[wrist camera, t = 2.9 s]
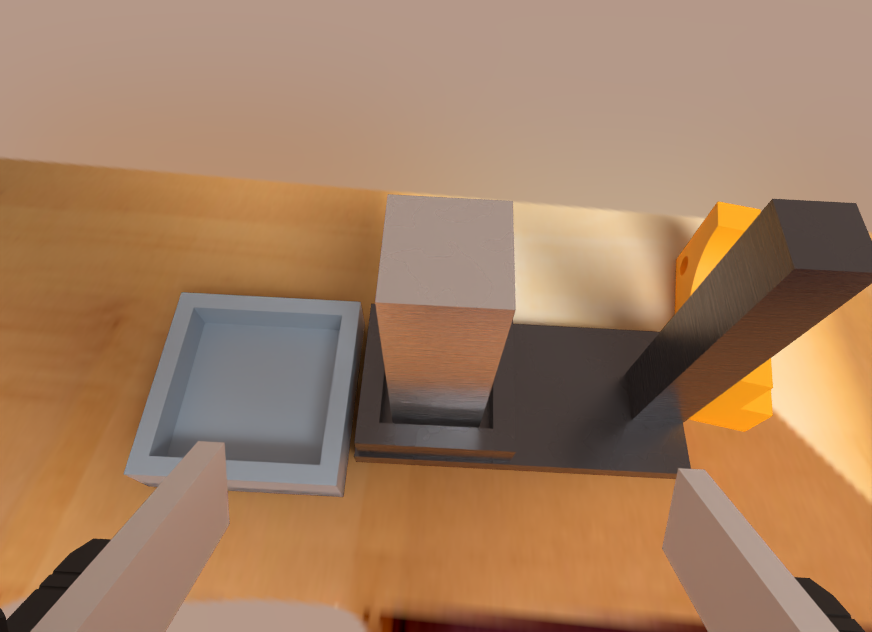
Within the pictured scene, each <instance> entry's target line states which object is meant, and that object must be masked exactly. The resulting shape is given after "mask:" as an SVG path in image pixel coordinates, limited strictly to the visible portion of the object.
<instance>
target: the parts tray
mask: <svg viewBox="0 0 872 632" xmlns="http://www.w3.org/2000/svg"><path fill="white" fill-rule="evenodd" d="M364 328H365V322H364V317H363V312H362V307H361V302H354V301H335V300H316V299H298V298H279V297H260V296H242V295H223V294H204V293H186V292H181V296H180V299H179V302H178V305H177V308H176V311H175V314H174V317H173V321H172V324H171V327H170V330H169V333H168V336H167V339H166V343H165V346H164V349H163V352H162V355H161V358H160V361H159V365H158V368H157V371H156V374H155V377H154V380H153V383H152V386H151V390H150V393H149V396H148V399H147V402H146V405H145V408H144V412H143V415H142V418H141V421H140V424H139V427H138V430H137V434H136V437H135V440H134V443H133V446H132V449H131V452H130V455H129V459H128V462H127V465H126V468H125V471H124V475H126V476H128V477H130V478H133V479H135V480H137V481H139V482H141V483H143V484H145V485H147V486H153V487H158V486H159V485H160V484H161V483H162V482H163V480H164V479H165V478H166V477H167V476H168V475H169V474H170V473H171V471H172V470H173V469H174V468H175V467H176V466H177V465H178V463H179V462H180V461H181V460H182V459H183V458H184V457H185V456H186V454H187V453H188V452H189V451H190V450H191V449H192V448H193V446H194V445H195V444H196V443H197V442H198V441H206V442H224V443H225V457H226V474H227V490H228V491H245V492H263V493H282V494H300V495H319V496H337V497H343V496H344V488H345V480H346V472H347V464H348V456H349V448H350V440H351V432H352V424H353V416H354V408H355V400H356V392H357V384H358V376H359V368H360V360H361V352H362V344H363V336H364Z"/></svg>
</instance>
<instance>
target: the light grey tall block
mask: <svg viewBox="0 0 872 632" xmlns="http://www.w3.org/2000/svg"><path fill="white" fill-rule="evenodd" d="M375 305H376V312H377V319H378V326H379V333H380V339H381V346H382V353H383V360H384V367H385V374H386V381H387V388H388V394H389V401H390V408H391V415H392V422H393V423H395V424H414V425H433V426H451V427H470V428H479V426H480V423H481V420H482V417H483V414H484V410H485V407H486V404H487V401H488V397H489V394H490V391H491V388H492V384H493V381H494V378H495V375H496V371H497V368H498V365H499V362H500V359H501V355H502V352H503V349H504V346H505V342H506V339H507V336H508V333H509V329H510V326H511V323H512V320H513V316H514V313H515V310H516V309H515V270H514V231H513V201H502V200H483V199H464V198H445V197H426V196H408V195H389V194H388V197H387V205H386V214H385V222H384V231H383V239H382V248H381V256H380V265H379V273H378V282H377V290H376V299H375Z"/></svg>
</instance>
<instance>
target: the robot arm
mask: <svg viewBox="0 0 872 632" xmlns="http://www.w3.org/2000/svg"><path fill="white" fill-rule="evenodd" d="M229 524H230V523H229V506H228V490H227V474H226V457H225V443H224V442H206V441H198V442H197V443H196V444H195V445H194V446H193V448H192V449H191V450H190V451H189V452H188V453H187V454H186V456H185V457H184V458H183V459H182V460H181V461H180V462H179V463H178V465H177V466H176V467H175V468H174V469H173V470H172V471H171V473H170V474H169V475H168V476H167V477H166V478H165V479H164V480H163V482H162V483H161V484H160V485H159V486H158V487H157V488H156V490H155V491H154V492H153V493H152V494H151V495H150V496H149V498H148V499H147V500H146V501H145V502H144V503H143V504H142V505H141V507H140V508H139V509H138V510H137V511H136V512H135V513H134V515H133V516H132V517H131V518H130V519H129V520H128V521H127V522H126V524H125V525H124V526H123V527H122V528H121V529H120V530H119V532H118V533H117V534H116V535H115V536H114V537H113V538H112V540H109V539H92V540H91V541H89V542H87V543H86V544H84V545H83V546H81V547H79V548H78V549H76V550H75V551H73V552H72V553H70V554H69V555H68V556H67V557H66V558H65V559H64V560H63V561H62V562H61V564H60V565H59V566H58V567H57V568H56V569H55V570H54V571H53V574H52V575H49V576H48V577H47V578H46V579H45V580H44V581H43V582H42V583H41V584H40V586H39V589H36V590H35V591H34V592H33V593H32V594H31V595H30V596H29V597H28V598H27V599H26V600H25V601H24V602H23V603H22V604H21V605H20V606H19V608H18V609H17V610H16V611H15V612H14V613H13V614H12V615H11V616H10V617H9V618H8V619H7V620H6V617H5V615H4V613H3V611H2V609H0V632H166V630H167V628H168V627H169V625H170V623H171V621H172V620H173V618H174V616H175V615H176V613H177V611H178V610H179V608H180V606H181V605H182V603H183V601H184V600H185V598H186V596H187V595H188V593H189V591H190V590H191V588H192V586H193V585H194V583H195V581H196V580H197V578H198V576H199V574H200V573H201V571H202V569H203V568H204V566H205V564H206V563H207V561H208V559H209V558H210V556H211V554H212V553H213V551H214V549H215V548H216V546H217V544H218V543H219V541H220V539H221V537H222V536H223V534H224V532H225V531H226V529H227V527H228V526H229ZM662 549H663V551H664V553H665V555H666V556H667V558H668V560H669V562H670V564H671V565H672V567H673V569H674V571H675V573H676V574H677V576H678V578H679V580H680V582H681V584H682V585H683V587H684V589H685V591H686V593H687V594H688V596H689V598H690V600H691V602H692V603H693V605H694V607H695V609H696V611H697V612H698V614H699V616H700V618H701V620H702V621H703V623H704V625H705V627H706V629H707V631H708V632H865V631H864V630H863V629H862V627H861V626H860V625H859V624H858V623H857V622H856V621H855V620H854V619H851V615H850V614H849V613H848V612H847V611H846V609H845V608H844V607H843V606H842V605H841V604H840V603H839V601H838V600H837V599H836V598H835V597H834V596H833V595H832V594H830V593H829V592H828V591H826V590H825V589H824V588H822V587H821V586H819V585H818V584H817V583H815V582H814V581H813V580H811V579H810V578H798V577H793V575H792V574H791V573H790V572H789V571H788V569H787V568H786V567H785V566H784V565H783V563H782V562H781V561H780V560H779V559H778V557H777V556H776V555H775V554H774V553H773V551H772V550H771V549H770V548H769V547H768V545H767V544H766V543H765V542H764V541H763V539H762V538H761V537H760V536H759V534H758V533H757V532H756V531H755V530H754V528H753V527H752V526H751V525H750V524H749V522H748V521H747V520H746V519H745V518H744V516H743V515H742V514H741V513H740V512H739V510H738V509H737V508H736V507H735V506H734V504H733V503H732V502H731V501H730V500H729V498H728V497H727V496H726V495H725V494H724V492H723V491H722V490H721V489H720V488H719V486H718V485H717V484H716V483H715V482H714V480H713V479H712V478H711V477H710V475H709V474H708V473H707V472H706V471H705V470H701V469H683V468H678V472H677V477H676V482H675V487H674V492H673V497H672V502H671V507H670V512H669V517H668V522H667V527H666V532H665V537H664V542H663V547H662Z"/></svg>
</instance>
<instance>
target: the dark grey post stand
mask: <svg viewBox="0 0 872 632" xmlns="http://www.w3.org/2000/svg"><path fill="white" fill-rule="evenodd" d="M870 284H872V240H871V238H870V236H869V233H868V231H867V229H866V226H865V224H864V221H863V219H862V217H861V214H860V212H859V209H858V207H857V204H856V203H840V202H821V201H803V200H802V201H801V200H785V199H772V200H771V201H770V203H768V205H767V206H766V207H765V208H764V209H763V211H762V212H761V213H760V214H759V215H758V216H757V218H756V219H755V220H754V221H753V222H752V224H751V225H750V226H749V227H748V228H747V230H746V231H745V232H744V233H743V234H742V235H741V237H740V238H739V239H738V240H737V241H736V243H735V244H734V245H733V246H732V247H731V249H730V250H729V251H728V252H727V253H726V254H725V256H724V257H723V258H722V259H721V260H720V262H719V263H718V264H717V265H716V266H715V268H714V269H713V270H712V271H711V272H710V273H709V275H708V276H707V277H706V278H705V279H704V281H703V282H702V283H701V284H700V285H699V287H698V288H697V289H696V290H695V291H694V292H693V294H692V295H691V296H690V297H689V298H688V300H687V301H686V302H685V303H684V304H683V306H682V307H681V308H680V309H679V310H678V311H677V313H676V314H675V315H674V316H673V317H672V319H671V320H670V321H669V322H668V323H667V325H666V326H665V327H664V328H663V329H662V330H661V332H653V331H634V330H615V329H597V328H578V327H559V326H541V325H522V324H513V320H512V323H511V326H510V329H509V333H508V336H507V339H506V342H505V346H504V349H503V352H502V355H501V359H500V362H499V365H498V368H497V371H496V375H495V378H494V381H493V384H492V388H491V391H490V394H489V397H488V401H487V404H486V407H485V410H484V414H483V417H482V420H481V423H480V426H479V428H470V427H451V426H433V425H414V424H395V423H393V422H392V415H391V408H390V401H389V394H388V388H387V381H386V374H385V367H384V360H383V353H382V346H381V339H380V333H379V326H378V319H377V312H376V305H375V304H371V311H370V319H369V327H368V335H367V344H366V352H365V360H364V368H363V377H362V385H361V393H360V401H359V410H358V418H357V426H356V434H355V454H354V457H355V459H356V462H371V463H389V464H408V465H426V466H445V467H463V468H482V469H500V470H519V471H537V472H556V473H574V474H593V475H611V476H630V477H648V478H667V479H676V477H677V472H678V468H683V469H691V467H690V462H689V456H688V450H687V444H686V439H685V433H684V427H683V422H685V421H686V420H687V419H689V418H690V417H691V416H693V415H694V414H695V413H697V412H698V411H700V410H701V409H702V408H704V407H705V406H706V405H708V404H709V403H710V402H712V401H713V400H714V399H716V398H717V397H719V396H720V395H721V394H723V393H724V392H725V391H727V390H728V389H729V388H731V387H732V386H733V385H735V384H736V383H737V382H739V381H740V380H742V379H743V378H744V377H746V376H747V375H748V374H750V373H751V372H752V371H754V370H755V369H756V368H758V367H759V366H760V365H762V364H763V363H765V362H766V361H767V360H769V359H770V358H771V357H773V356H774V355H775V354H777V353H778V352H779V351H781V350H782V349H784V348H785V347H786V346H788V345H789V344H790V343H792V342H793V341H794V340H796V339H797V338H798V337H800V336H801V335H802V334H804V333H805V332H807V331H808V330H809V329H811V328H812V327H813V326H815V325H816V324H817V323H819V322H820V321H821V320H823V319H824V318H825V317H827V316H828V315H830V314H831V313H832V312H834V311H835V310H836V309H838V308H839V307H840V306H842V305H843V304H844V303H846V302H847V301H849V300H850V299H851V298H853V297H854V296H855V295H857V294H858V293H859V292H861V291H862V290H863V289H865V288H866V287H867V286H869V285H870Z"/></svg>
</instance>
